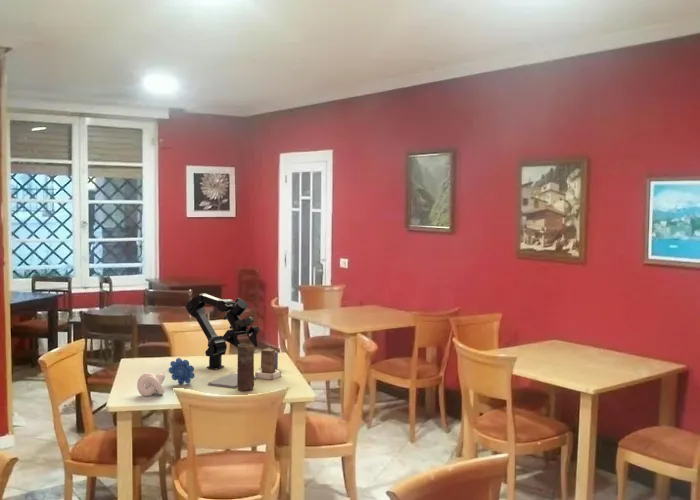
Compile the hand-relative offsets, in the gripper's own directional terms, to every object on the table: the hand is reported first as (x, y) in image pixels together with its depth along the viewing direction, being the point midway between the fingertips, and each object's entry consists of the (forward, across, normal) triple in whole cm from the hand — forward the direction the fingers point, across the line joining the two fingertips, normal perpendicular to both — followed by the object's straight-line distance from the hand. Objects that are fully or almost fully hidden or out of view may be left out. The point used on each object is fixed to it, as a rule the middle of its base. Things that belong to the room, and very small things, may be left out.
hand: (249, 347), depth 331 cm
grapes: (+4, -32, +16) cm, 36 cm away
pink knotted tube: (+8, -49, +12) cm, 51 cm away
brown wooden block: (+15, +6, +4) cm, 17 cm away
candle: (+22, -16, -3) cm, 27 cm away
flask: (+6, +17, +14) cm, 23 cm away
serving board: (+12, -11, +7) cm, 18 cm away
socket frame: (+15, +6, +4) cm, 17 cm away
